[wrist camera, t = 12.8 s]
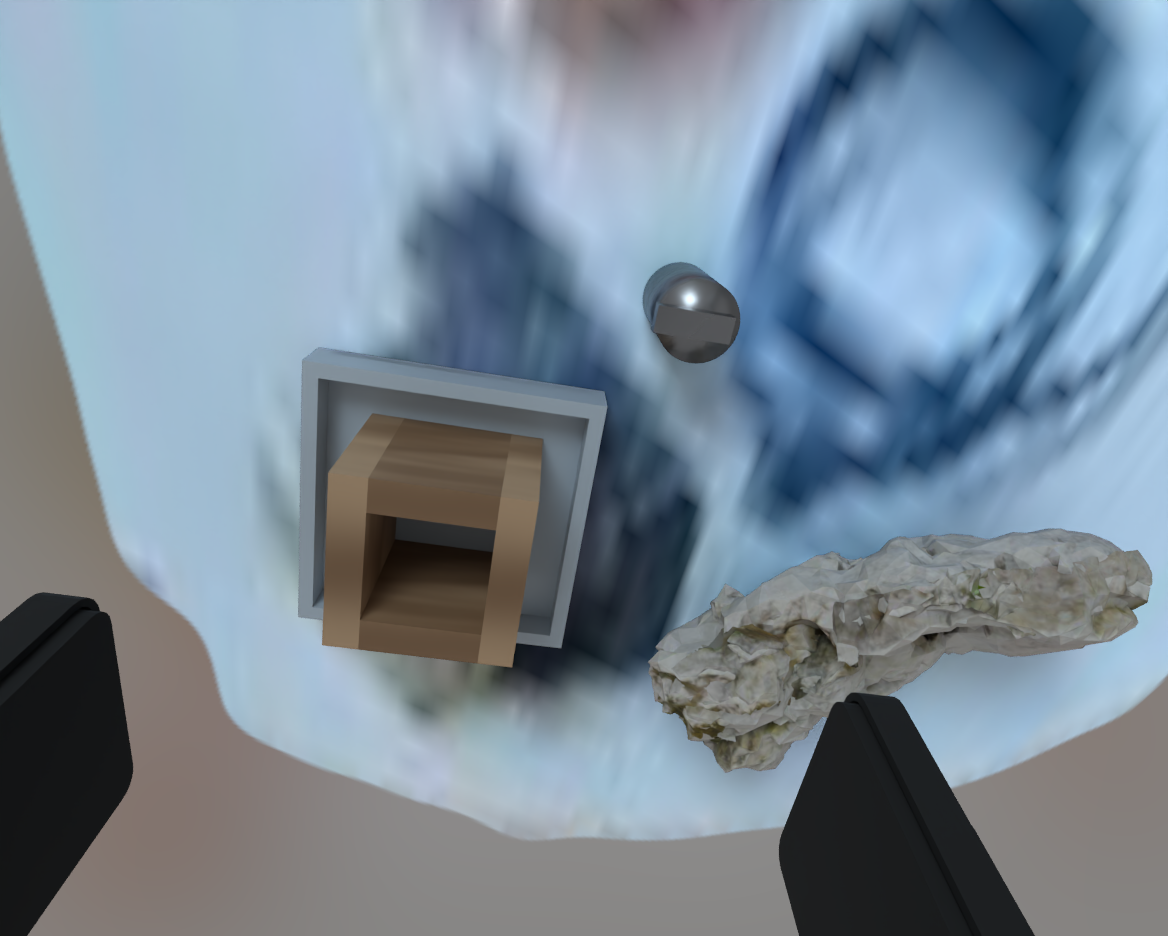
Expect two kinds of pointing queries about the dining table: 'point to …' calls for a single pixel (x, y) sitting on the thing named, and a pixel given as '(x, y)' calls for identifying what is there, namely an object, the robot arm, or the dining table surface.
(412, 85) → the dining table surface
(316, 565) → the tray
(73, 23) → the dining table surface
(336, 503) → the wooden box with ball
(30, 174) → the dining table surface
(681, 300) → the grey rounded cylinder
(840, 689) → the rock
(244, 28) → the dining table surface
